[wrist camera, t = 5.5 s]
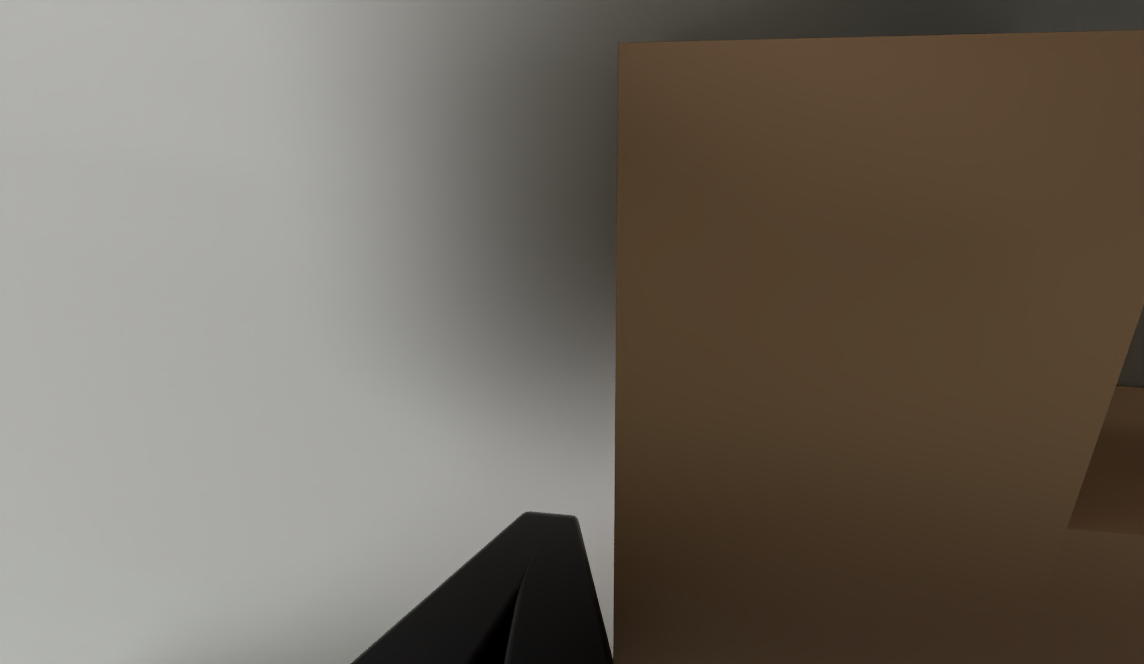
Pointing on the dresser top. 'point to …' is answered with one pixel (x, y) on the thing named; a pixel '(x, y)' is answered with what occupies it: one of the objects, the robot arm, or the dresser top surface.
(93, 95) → the dresser top surface
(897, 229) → the t block
